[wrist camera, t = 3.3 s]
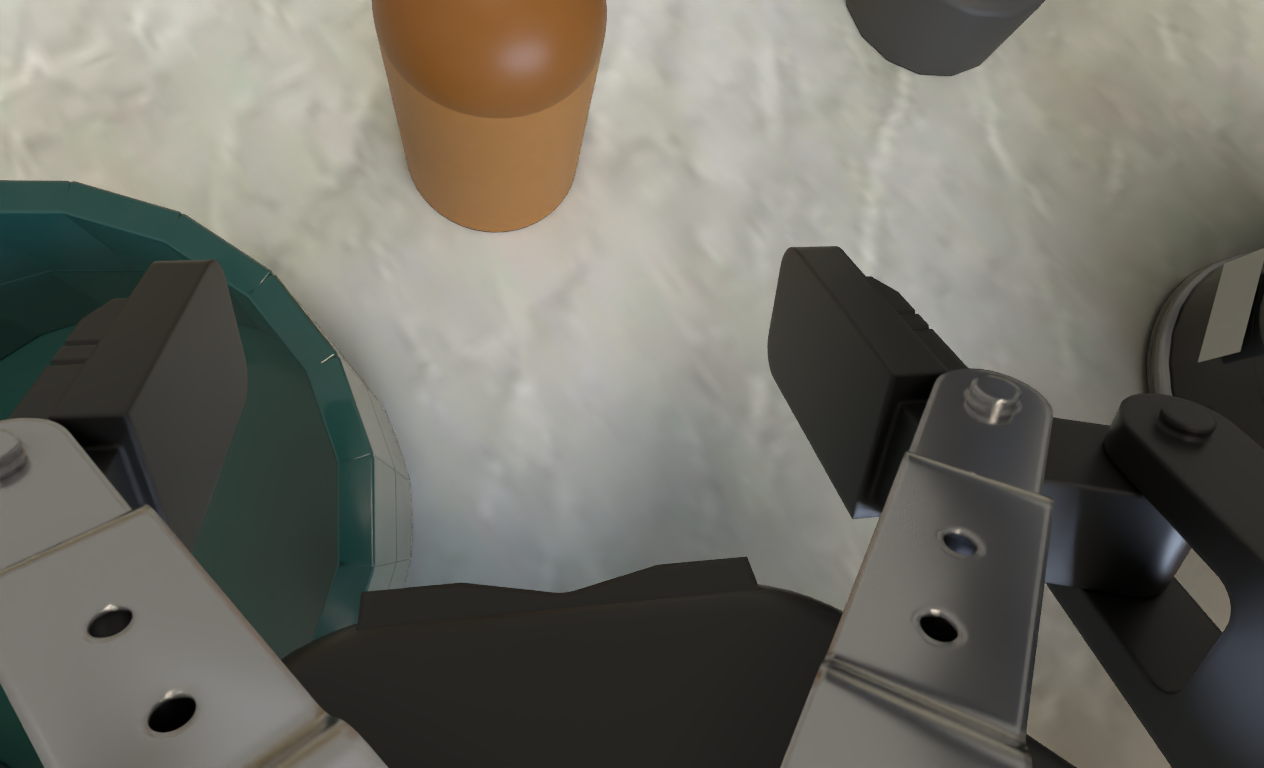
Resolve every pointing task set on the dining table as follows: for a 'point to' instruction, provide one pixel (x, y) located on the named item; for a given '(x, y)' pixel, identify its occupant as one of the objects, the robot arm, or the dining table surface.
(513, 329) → the dining table surface
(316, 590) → the pot
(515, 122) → the brown rounded cylinder
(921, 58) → the candle holder
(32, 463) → the robot arm
